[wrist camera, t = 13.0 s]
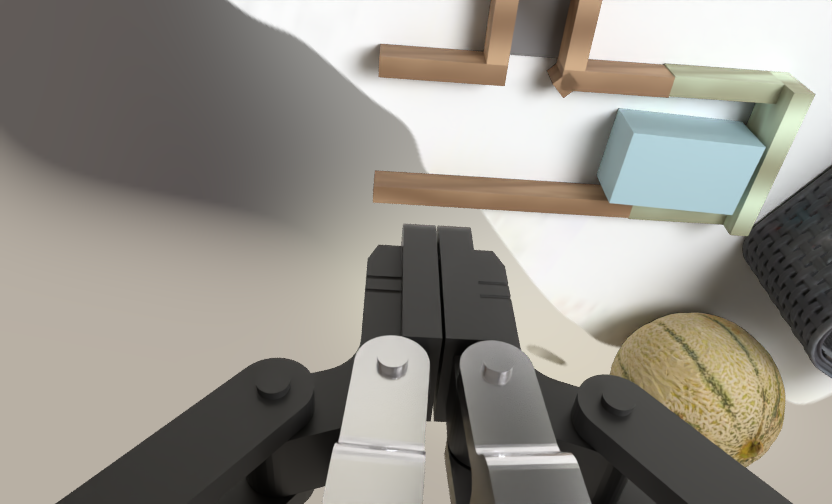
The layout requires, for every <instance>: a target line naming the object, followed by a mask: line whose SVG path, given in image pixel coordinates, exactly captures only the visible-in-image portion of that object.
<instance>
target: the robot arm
mask: <svg viewBox="0 0 832 504" xmlns="http://www.w3.org/2000/svg"><path fill="white" fill-rule="evenodd" d="M432 408H433V411H434V421H438V422H446V425H447V442H446V448H445V453H444V455H445V465H446V472H447V479H448V486H449V494H450V501H451V504H792V503H791V502H790V501H789V500H787V499H786V498H785V497H783V496H782V495H781V494H779V493H778V492H777V491H776V490H774V489H773V488H772V487H770V486H769V485H768V484H766V483H765V482H764V481H762V480H761V479H760V478H758V477H757V476H756V475H755V474H753V473H752V472H751V471H749V470H748V469H747V468H745V467H744V466H743V465H742V464H740V463H739V462H738V461H736V460H735V459H734V458H732V457H731V456H730V455H728V454H727V453H726V452H725V451H723V450H722V449H721V448H719V447H718V446H717V445H715V444H714V443H713V442H711V441H710V440H709V439H708V438H706V437H705V436H704V435H702V434H701V433H700V432H698V431H697V430H696V429H694V428H693V427H692V426H691V425H689V424H688V423H687V422H685V421H684V420H683V419H681V418H680V417H679V416H677V415H676V414H675V413H674V412H672V411H671V410H670V409H668V408H667V407H666V406H664V405H663V404H662V403H660V402H659V401H658V400H657V399H655V398H654V397H653V396H651V395H650V394H649V393H647V392H646V391H645V390H643V389H642V388H641V387H639V386H638V385H636V384H635V383H633V382H631V381H629V380H627V379H625V378H622V377H619V376H615V375H596V376H593V377H590V378H588V379H587V380H585V381H584V382H583V383H582V384H581V386H580V387H577V386H573V385H570V384H567V383H564V382H560V381H557V380H554V379H552V378H549V377H547V376H545V375H543V374H542V373H540V372H538V371H537V370H536V369H534V367H533V365H532V362H531V361H530V359H529V358H528V357H527V355H526V354H525V353H524V352H522V351H521V348H520V343H519V338H518V334H517V328H516V322H515V317H514V312H513V307H512V302H511V299H510V291H509V287H508V281H507V276H506V270H505V266H504V265H503V264H502V262H501V261H500V260H499V259H498V257H497V256H496V255H495V253H494V252H493V251H481V250H474V248H473V241H472V234H471V228H469V227H453V226H438V227H437V231H436V226H434V225H417V224H403V230H402V242H401V246H391V245H378V246H377V248H376V249H375V250H374V251H373V253H372V254H371V255H370V257H369V258H368V262H367V276H366V287H365V299H364V311H363V323H362V336H361V343H360V346H359V349H358V350H357V352H356V353H355V354H354V355H353V357H352V358H351V359H349V360H348V361H347V362H345V363H343V364H342V365H340V366H337V367H335V368H332V369H329V370H324V371H320V372H315V373H310V372H309V370H308V369H307V368H306V367H304V366H303V365H302V364H300V363H298V362H296V361H294V360H290V359H285V358H269V359H264V360H261V361H258V362H256V363H253V364H252V365H250V366H248V367H247V368H245V369H244V370H242V371H241V372H240V373H238V374H237V375H235V376H234V377H233V378H231V379H230V380H228V381H227V382H226V383H224V384H223V385H221V386H220V387H218V388H217V389H216V390H214V391H213V392H212V393H210V394H209V395H207V396H206V397H205V398H203V399H202V400H200V401H199V402H198V403H196V404H195V405H193V406H192V407H190V408H189V409H188V410H186V411H185V412H183V413H182V414H181V415H179V416H178V417H177V418H175V419H174V420H172V421H171V422H169V423H168V424H167V425H165V426H164V427H163V428H161V429H160V430H158V431H157V432H155V433H154V434H153V435H151V436H150V437H148V438H147V439H146V440H144V441H143V442H141V443H140V444H139V445H137V446H136V447H134V448H133V449H132V450H130V451H129V452H127V453H126V454H125V455H123V456H122V457H121V458H119V459H118V460H116V461H115V462H113V463H112V464H111V465H110V466H108V467H106V468H105V469H104V470H102V471H101V472H99V473H98V474H97V475H95V476H94V477H92V478H91V479H90V480H88V481H87V482H85V483H84V484H83V485H81V486H80V487H79V488H77V489H76V490H74V491H73V492H71V493H70V494H69V495H67V496H66V497H64V498H63V499H62V500H60V501H59V502H57V503H56V504H304V503H305V502H306V501H307V500H308V499H309V497H310V496H311V494H312V493H313V491H314V489H316V488H320V487H323V486H325V490H324V495H323V500H322V504H423V489H424V473H425V451H424V447H425V431H426V421H431V415H432Z"/></svg>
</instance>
